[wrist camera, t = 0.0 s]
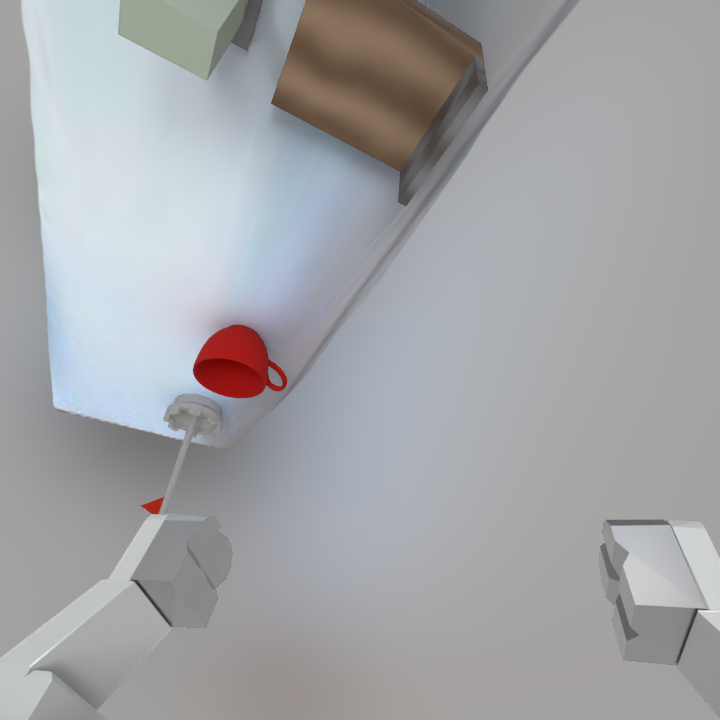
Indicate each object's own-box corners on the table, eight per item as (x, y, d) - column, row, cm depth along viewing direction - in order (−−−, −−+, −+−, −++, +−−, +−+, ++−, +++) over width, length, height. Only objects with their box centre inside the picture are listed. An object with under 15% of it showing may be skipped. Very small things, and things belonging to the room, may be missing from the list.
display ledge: (327, -59, 43) (310, -22, 37) (480, 43, 48) (487, 89, 42) (278, 86, 53) (259, 132, 47) (408, 156, 58) (406, 206, 53)
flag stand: (217, 392, 109) (175, 524, 91) (231, 420, 119) (197, 543, 102) (162, 389, 110) (111, 519, 92) (181, 417, 121) (139, 538, 103)
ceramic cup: (280, 370, 99) (271, 411, 93) (200, 341, 93) (185, 383, 87) (305, 338, 90) (296, 382, 84) (218, 303, 84) (202, 348, 78)
